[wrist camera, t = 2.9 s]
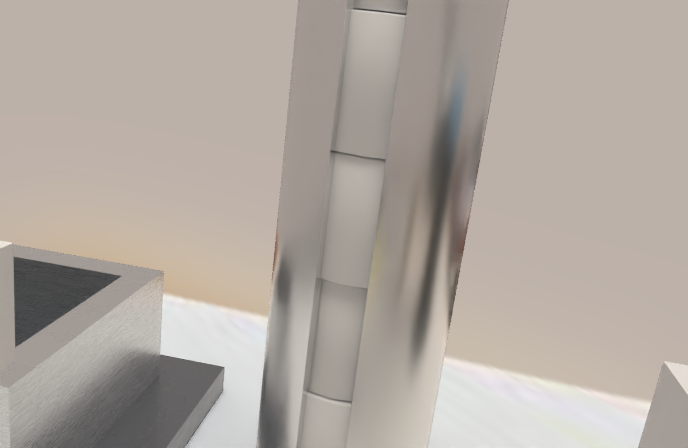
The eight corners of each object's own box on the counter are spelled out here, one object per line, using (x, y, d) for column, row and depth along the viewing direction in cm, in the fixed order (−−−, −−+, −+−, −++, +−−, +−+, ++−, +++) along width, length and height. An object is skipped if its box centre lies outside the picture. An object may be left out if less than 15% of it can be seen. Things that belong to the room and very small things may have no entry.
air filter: (214, 538, 26) (266, -148, 19) (331, 477, 30) (408, -95, 23) (318, 658, 21) (437, -181, 14) (438, 565, 26) (572, -109, 19)
